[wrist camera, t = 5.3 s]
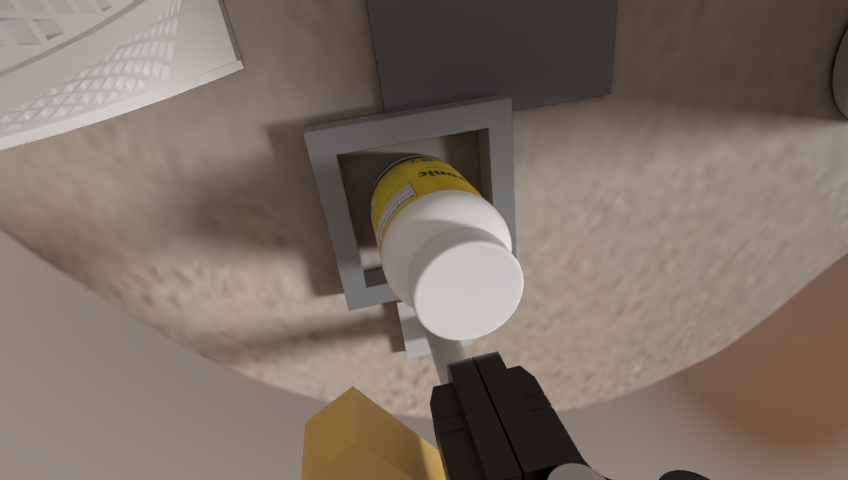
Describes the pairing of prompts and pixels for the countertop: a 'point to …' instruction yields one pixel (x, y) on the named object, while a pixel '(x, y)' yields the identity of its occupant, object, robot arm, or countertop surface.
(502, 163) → the socket
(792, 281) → the countertop surface
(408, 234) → the supplement bottle
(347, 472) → the yellow lever
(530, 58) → the mat
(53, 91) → the skyscraper
